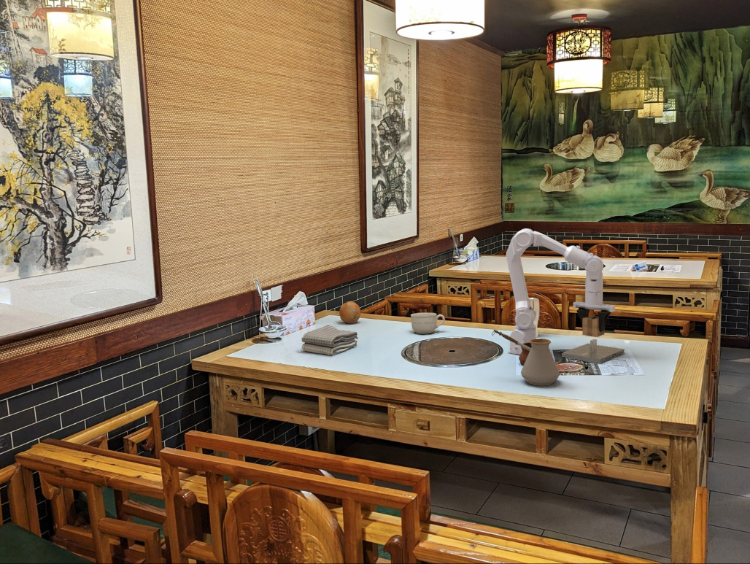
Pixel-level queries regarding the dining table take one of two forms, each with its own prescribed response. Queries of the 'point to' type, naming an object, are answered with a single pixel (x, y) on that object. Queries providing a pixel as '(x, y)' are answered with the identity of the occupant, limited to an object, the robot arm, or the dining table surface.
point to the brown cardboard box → (591, 326)
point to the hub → (593, 352)
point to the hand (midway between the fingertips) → (593, 330)
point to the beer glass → (535, 307)
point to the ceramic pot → (526, 354)
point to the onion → (350, 312)
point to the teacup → (425, 322)
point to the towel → (329, 340)
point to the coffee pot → (537, 362)
